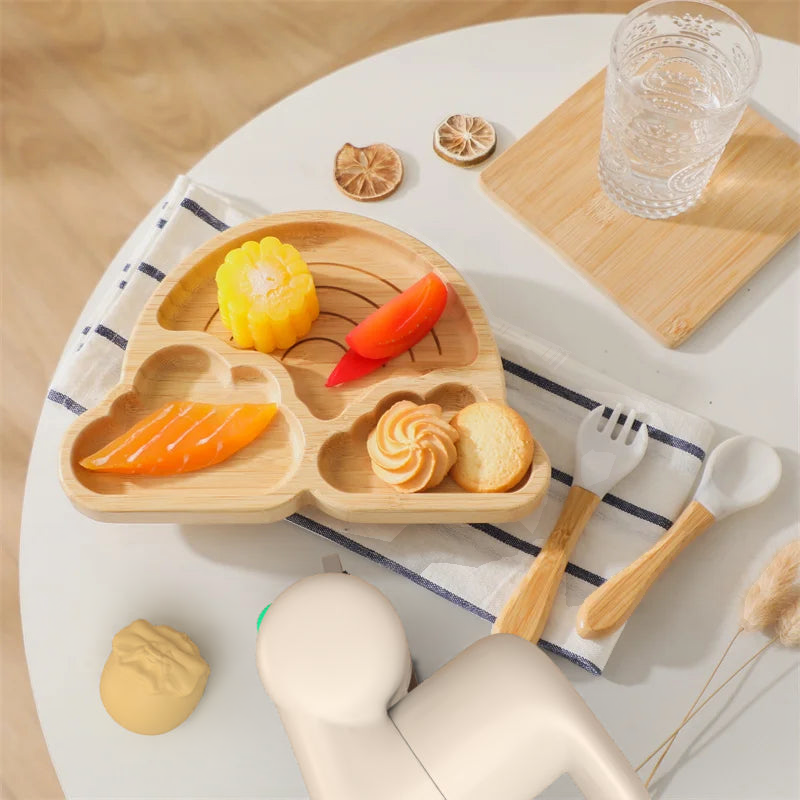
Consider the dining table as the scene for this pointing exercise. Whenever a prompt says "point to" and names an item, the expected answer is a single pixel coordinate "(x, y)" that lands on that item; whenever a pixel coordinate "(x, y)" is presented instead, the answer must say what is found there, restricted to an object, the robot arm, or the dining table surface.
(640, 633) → the dining table surface
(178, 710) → the sculpture
